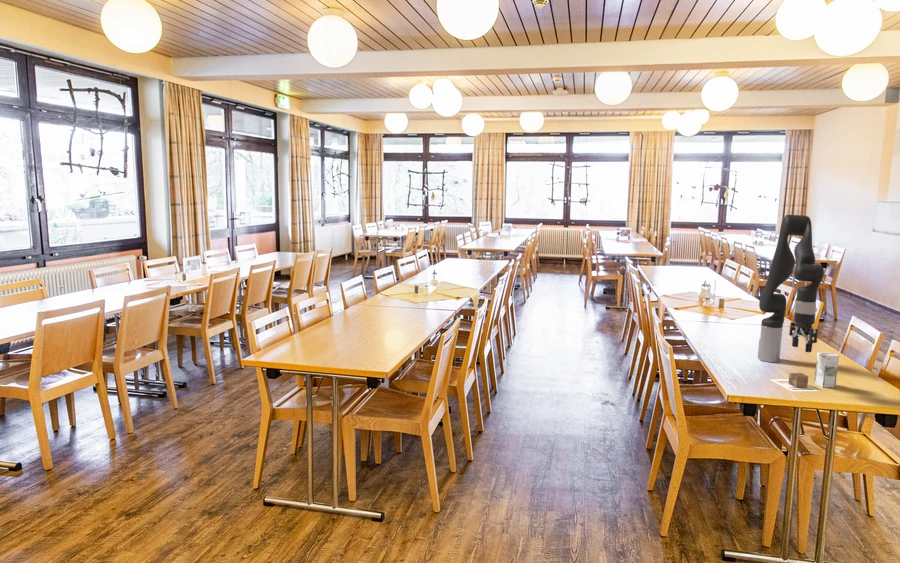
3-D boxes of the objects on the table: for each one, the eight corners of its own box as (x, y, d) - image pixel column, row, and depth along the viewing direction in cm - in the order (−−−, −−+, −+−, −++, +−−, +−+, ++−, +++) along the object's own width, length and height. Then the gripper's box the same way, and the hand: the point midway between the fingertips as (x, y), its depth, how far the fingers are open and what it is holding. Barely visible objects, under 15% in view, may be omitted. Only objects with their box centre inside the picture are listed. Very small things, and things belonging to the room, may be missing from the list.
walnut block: (788, 383, 251) (789, 372, 250) (799, 383, 251) (800, 372, 251) (795, 387, 246) (796, 376, 246) (807, 387, 247) (808, 376, 246)
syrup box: (826, 383, 253) (829, 351, 250) (835, 388, 247) (839, 355, 245) (813, 384, 252) (816, 351, 250) (822, 388, 247) (826, 355, 244)
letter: (769, 380, 257) (769, 379, 257) (795, 379, 258) (795, 379, 258) (792, 392, 242) (792, 391, 242) (820, 391, 242) (820, 391, 242)
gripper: (785, 308, 251) (782, 345, 253) (807, 315, 237) (804, 354, 239) (802, 308, 251) (799, 345, 254) (825, 315, 237) (821, 353, 240)
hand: (801, 349), depth 246 cm, fingers open, 8 cm apart
